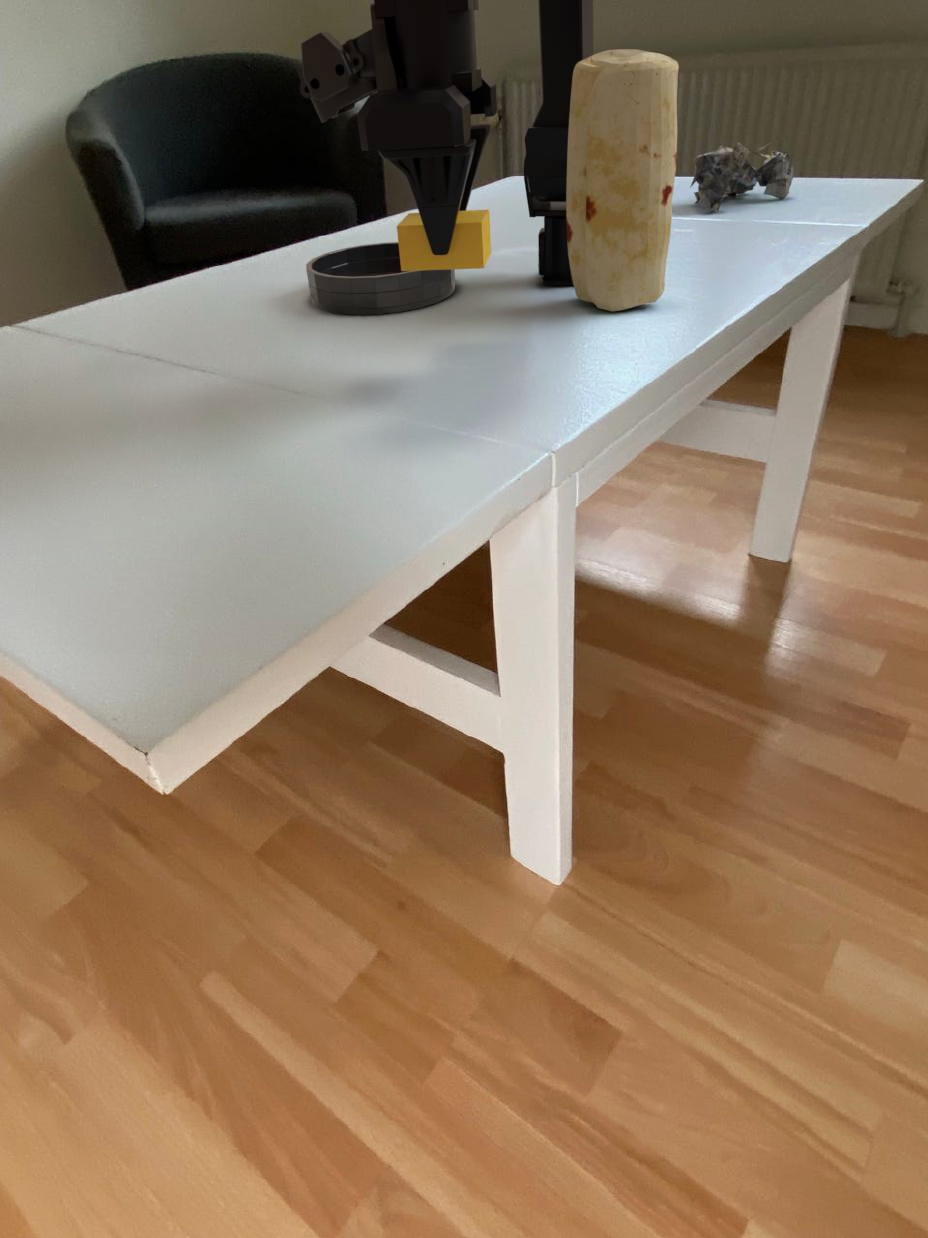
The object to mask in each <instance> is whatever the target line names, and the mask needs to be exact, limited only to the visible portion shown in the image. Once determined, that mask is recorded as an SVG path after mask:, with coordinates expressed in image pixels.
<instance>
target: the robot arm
mask: <svg viewBox="0 0 928 1238" xmlns="http://www.w3.org/2000/svg"><path fill="white" fill-rule="evenodd" d="M537 2H538V19H539V20H538V24H539V25H538V26H539V46H540V48H539V49H540V71H541V73H540V74H541V96H542V101H541V105H540V108H539V109H538V112H537V114H536V116H535V118H534V121H533V122H532V125H531V126H530V127H528V128H527V130H526V133H525V136H524V148H525V156H524V160H523V181H524V187H525V195H526V202H527V208H528V214H529V216H528V217H529V218H536V217H537V218H538V217H542V218H543V227H540V229H539V232H538V235H537V236H538V238H537V239H538V240H537V241H538V242H537V243H538V275H539V276H540V277H542V279H541V283H542V286H543V285H544V286H557V285H560V286H561V285H562V286H563V285H573V280H572V275H571V270H570V263H569V256H568V242H567V213H566V188H567V152H568V131H569V116H570V101H571V89H572V78H573V71H574V68H575V66H576V64H577V63H578V62H580V61H582V60H584V59H586V58H588V57H590V56H592V55H594V0H538V1H537ZM369 8H370V9H369V11H370V20H371V28H370V29H369V30H367V31H365V32H363V33H361V34H360V35H358V36H356V37H354V38H350V39H348V40H346V41H345V43H343V44H342V43H340V42H339V40H337V39H336V38H335V37H334V36H333V35H332V34H331V33H330V32H328V31H323V32H318V33H316V34H314V35H313V36H311V37H310V38H308V39H307V40H305V41H303V42H301V44H300V46H301V47H300V49H301V65H302V66H301V67H299V68H298V69H296V72H297V74H298V77H299V80H300V85H299V92H300V94H301V95H302V97H303V98H304V99H310V100H311V102H312V104H313V107H314V109H315V111H316V113H317V115H318V117H319V120H320V122H321V123H326V122H327V121H328V120H329V119H335V118H338V117H339V116H341V115H343V114H346V113H347V112H349V111H351V110H352V109H354V108H355V107H356V104H357V103H359V102H361V101H362V100H364V99H366V100H365V102H364V103H363V105H362V106H361V108H360V109H359V111H358V112H357V114H356V115H357V116H356V117H357V124H358V131H359V132H358V133H359V140H360V148H361V151H363V152H373V151H374V152H378V154H379V155H380V157H381V158H382V159H384V160H387V161H389V162H390V163H391V164H392V165H394V166H395V167H396V168H397V169H398V170H399V171H400V172H402V173H403V174H404V175H405V177H406V180H407V181H408V182H407V183H408V184H409V187H410V189H411V193H412V195H413V198H414V201H415V205H416V207H417V211H418V213H419V214H420V217H421V220H422V223H423V226H424V229H425V232H426V235H427V238H428V241H429V244H430V248H431V251H432V253H433V254H434V255H446V254H448V252H449V249H450V245H451V241H452V238H453V234H454V230H455V226H456V222H457V218H458V214H459V211H467V210H468V209H467V208H468V205H469V201H470V198H471V194H472V191H473V187H474V184H475V181H476V177H477V174H478V171H479V167H480V164H481V160H482V157H483V154H484V151H485V147H486V144H487V140H488V137H489V134H490V131H491V124H489V123H484V124H472V115H484V118H492V117H495V115H497V114H498V111H497V110H498V104H497V103H498V101H497V84H496V83H495V82H494V80H493V79H492V78H491V77H490V76H489V75H488V73H486V72H485V70H483V69H482V67H478V64H477V44H476V22H475V11H480V10H479V0H373V3H370V7H369ZM367 97H368V98H367Z"/></svg>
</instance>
